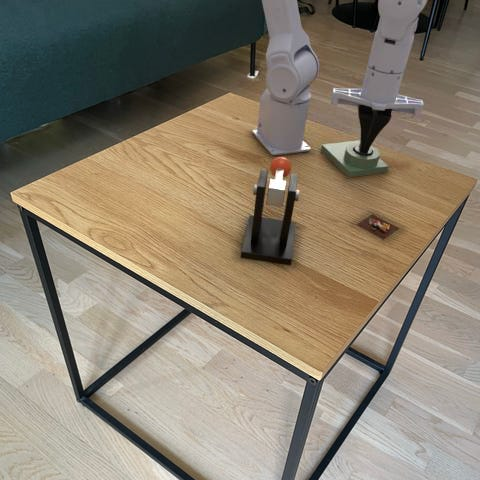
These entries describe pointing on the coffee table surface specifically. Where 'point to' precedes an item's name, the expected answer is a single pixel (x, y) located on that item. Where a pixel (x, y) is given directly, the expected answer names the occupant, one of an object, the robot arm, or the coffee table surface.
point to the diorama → (378, 226)
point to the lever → (278, 181)
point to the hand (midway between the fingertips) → (363, 149)
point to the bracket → (271, 227)
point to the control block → (354, 159)
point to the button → (357, 151)
